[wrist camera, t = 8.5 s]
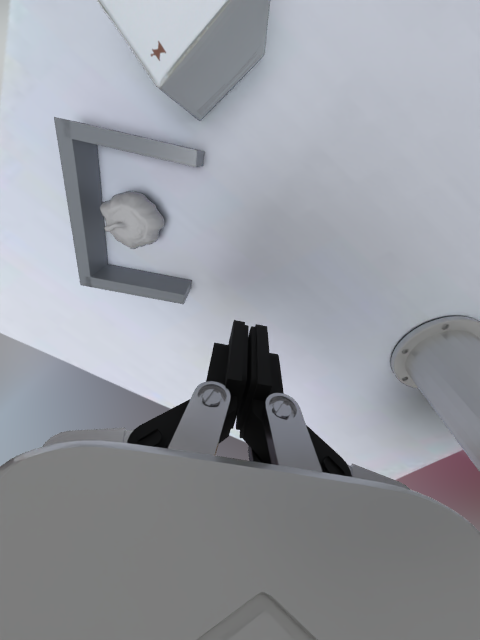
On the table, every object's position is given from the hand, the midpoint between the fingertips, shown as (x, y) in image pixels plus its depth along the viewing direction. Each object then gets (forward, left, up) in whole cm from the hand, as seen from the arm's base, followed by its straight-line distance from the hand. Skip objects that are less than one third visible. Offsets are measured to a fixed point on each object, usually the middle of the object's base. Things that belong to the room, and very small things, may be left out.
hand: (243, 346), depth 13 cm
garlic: (+12, 0, -19) cm, 23 cm away
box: (+11, 0, -19) cm, 22 cm away
